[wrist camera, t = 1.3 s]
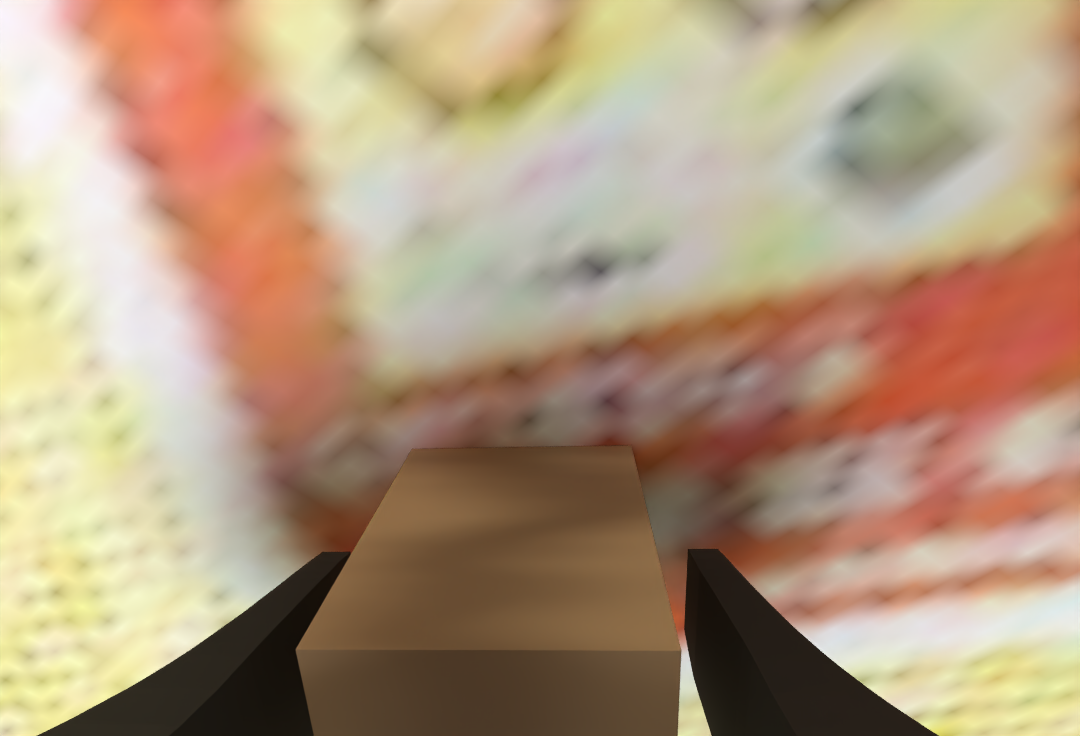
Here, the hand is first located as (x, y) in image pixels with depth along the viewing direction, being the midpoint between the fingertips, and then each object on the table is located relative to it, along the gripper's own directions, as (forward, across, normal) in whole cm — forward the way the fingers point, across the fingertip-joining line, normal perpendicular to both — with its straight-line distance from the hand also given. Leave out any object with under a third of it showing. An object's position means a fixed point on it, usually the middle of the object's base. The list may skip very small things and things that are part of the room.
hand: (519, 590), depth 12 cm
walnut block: (+2, 0, 0) cm, 2 cm away
